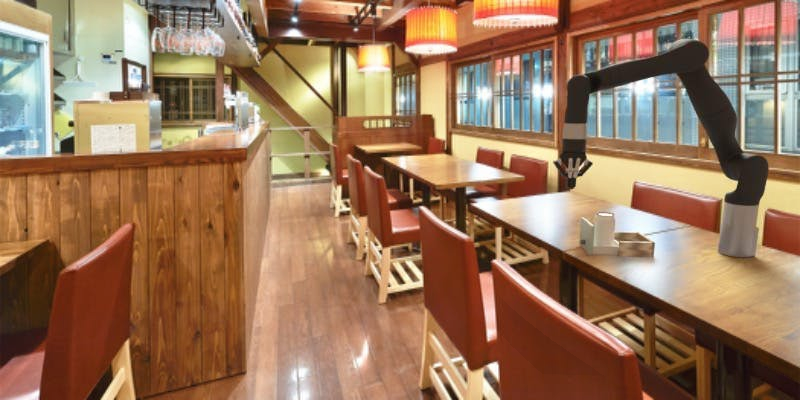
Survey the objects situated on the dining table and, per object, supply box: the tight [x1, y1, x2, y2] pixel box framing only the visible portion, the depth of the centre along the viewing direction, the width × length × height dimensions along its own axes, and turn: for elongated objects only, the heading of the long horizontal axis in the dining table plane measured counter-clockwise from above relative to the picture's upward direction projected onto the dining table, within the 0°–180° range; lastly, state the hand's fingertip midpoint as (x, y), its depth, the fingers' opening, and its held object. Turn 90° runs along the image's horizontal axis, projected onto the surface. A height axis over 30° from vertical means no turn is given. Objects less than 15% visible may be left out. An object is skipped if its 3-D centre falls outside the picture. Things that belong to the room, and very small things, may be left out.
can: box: [593, 211, 616, 246], centre depth 156 cm, size 6×6×12 cm
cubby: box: [614, 231, 656, 258], centre depth 156 cm, size 11×13×5 cm
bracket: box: [578, 216, 619, 256], centre depth 156 cm, size 12×12×10 cm
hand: (570, 188), depth 154 cm, fingers closed
